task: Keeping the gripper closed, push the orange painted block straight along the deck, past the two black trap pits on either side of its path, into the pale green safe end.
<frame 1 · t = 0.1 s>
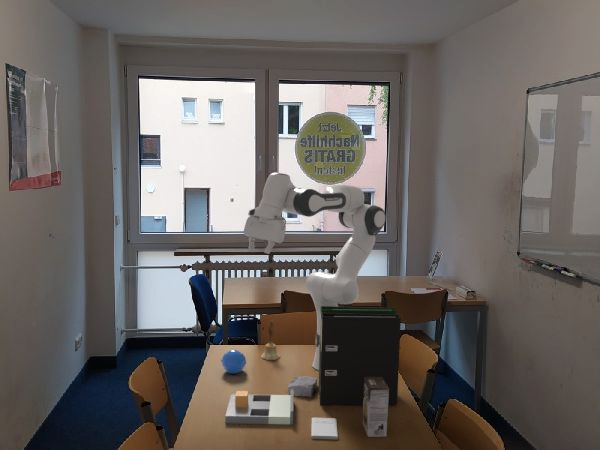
hand: (258, 251, 204), 52 cm above the table, tool tilted 20°, fingers open, 8 cm apart
external hard drive: (324, 431, 180), on the table
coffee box: (374, 430, 180), on the table
blue ball: (233, 372, 226), on the table
binder: (356, 398, 204), on the table
block: (241, 404, 191), point 2 cm above the table, touching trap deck
stone block: (301, 390, 211), on the table
hand bell: (270, 357, 244), on the table
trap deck: (260, 412, 191), on the table
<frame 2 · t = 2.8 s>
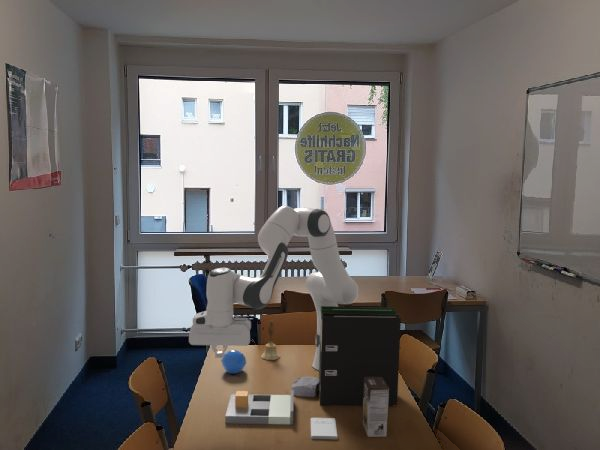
hand: (219, 357, 189), 19 cm above the table, tool pointing down, fingers closed
binder: (356, 398, 204), on the table, touching stone block
stone block: (304, 391, 211), on the table, touching binder
everything else where it was.
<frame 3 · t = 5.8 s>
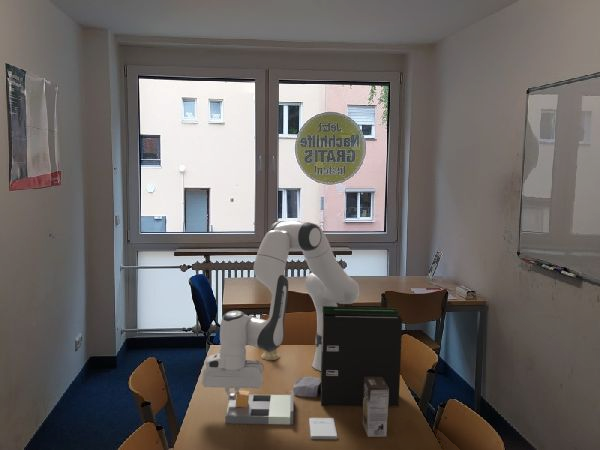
hand: (232, 399, 191), 4 cm above the table, tool pointing down, fingers closed
binder: (358, 399, 204), on the table
block: (241, 404, 191), point 3 cm above the table, tilted 6°, touching gripper, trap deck
stone block: (306, 391, 210), on the table
everything else where it was.
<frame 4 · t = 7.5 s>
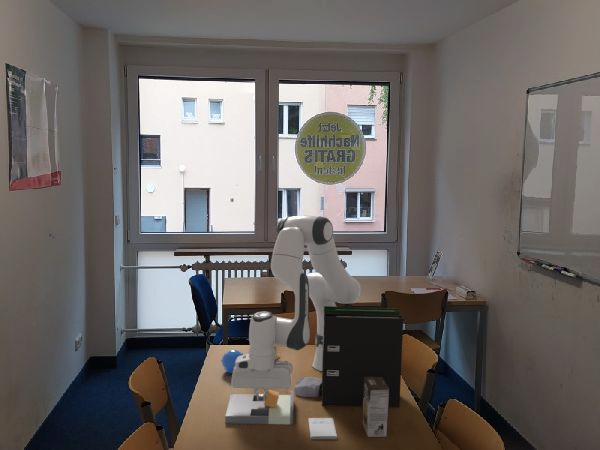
hand: (261, 400, 191), 4 cm above the table, tool pointing down, fingers closed
block: (270, 404, 191), point 3 cm above the table, tilted 14°, touching gripper, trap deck
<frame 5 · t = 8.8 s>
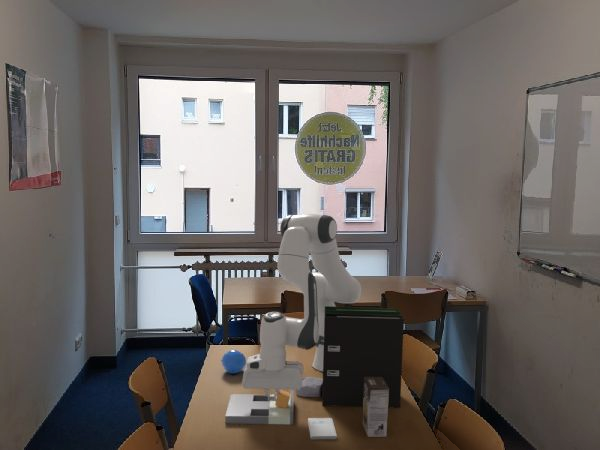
hand: (272, 400, 191), 4 cm above the table, tool pointing down, fingers closed
block: (281, 404, 191), point 3 cm above the table, tilted 14°, touching gripper, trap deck
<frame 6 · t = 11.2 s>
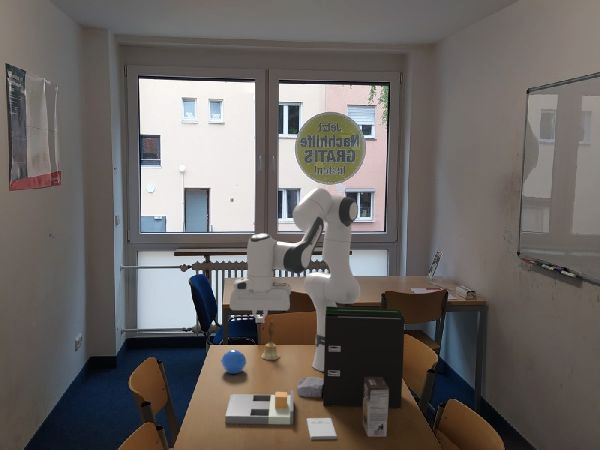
hand: (259, 322, 191), 30 cm above the table, tool pointing down, fingers closed
block: (281, 405, 191), point 2 cm above the table, touching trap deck
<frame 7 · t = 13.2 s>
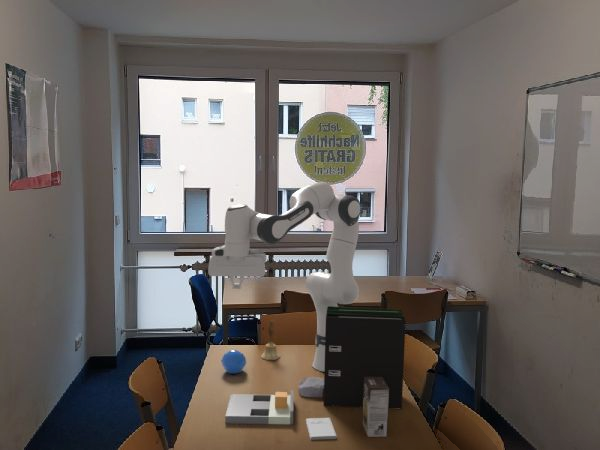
hand: (236, 288, 202), 39 cm above the table, tool pointing down, fingers closed
at the end: block 0.2 cm from the target spot on the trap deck, point 2.5 cm above the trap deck's base; block tilted 0° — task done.
